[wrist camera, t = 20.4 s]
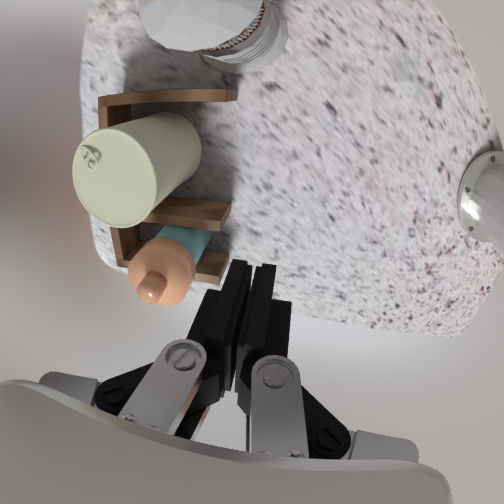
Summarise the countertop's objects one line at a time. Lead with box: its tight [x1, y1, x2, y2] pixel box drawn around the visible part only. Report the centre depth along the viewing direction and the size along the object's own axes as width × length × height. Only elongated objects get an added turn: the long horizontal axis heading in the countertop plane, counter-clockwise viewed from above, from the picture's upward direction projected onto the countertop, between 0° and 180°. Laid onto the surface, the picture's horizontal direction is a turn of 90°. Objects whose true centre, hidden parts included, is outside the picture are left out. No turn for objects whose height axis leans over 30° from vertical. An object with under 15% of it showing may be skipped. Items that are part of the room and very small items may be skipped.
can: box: [72, 112, 202, 228], centre depth 26 cm, size 9×9×12 cm
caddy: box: [98, 89, 237, 285], centre depth 31 cm, size 14×22×5 cm, turn 176°
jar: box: [154, 225, 212, 265], centre depth 33 cm, size 6×6×8 cm
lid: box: [128, 237, 196, 306], centre depth 27 cm, size 6×6×5 cm
